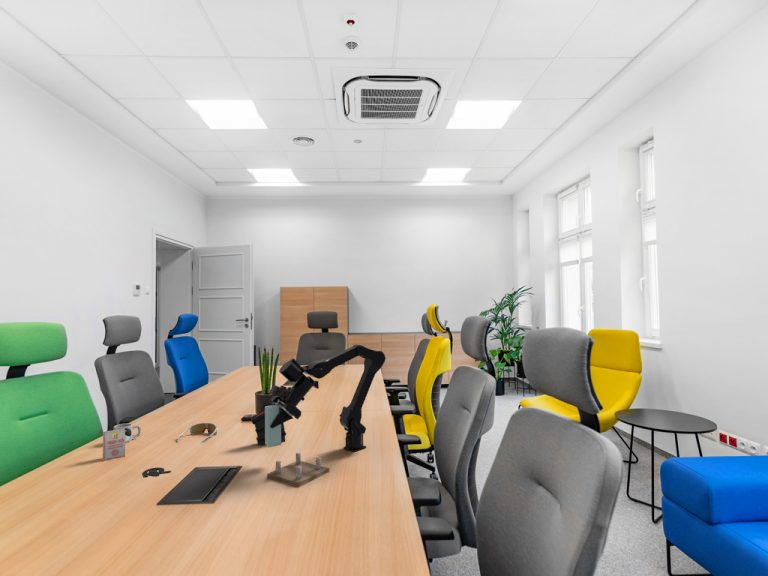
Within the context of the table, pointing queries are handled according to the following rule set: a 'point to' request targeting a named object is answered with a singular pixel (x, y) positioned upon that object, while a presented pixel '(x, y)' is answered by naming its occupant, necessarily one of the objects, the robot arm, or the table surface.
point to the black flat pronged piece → (154, 472)
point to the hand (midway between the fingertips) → (269, 426)
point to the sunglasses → (202, 429)
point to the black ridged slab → (260, 428)
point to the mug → (128, 431)
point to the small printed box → (113, 444)
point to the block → (272, 433)
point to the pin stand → (298, 471)
